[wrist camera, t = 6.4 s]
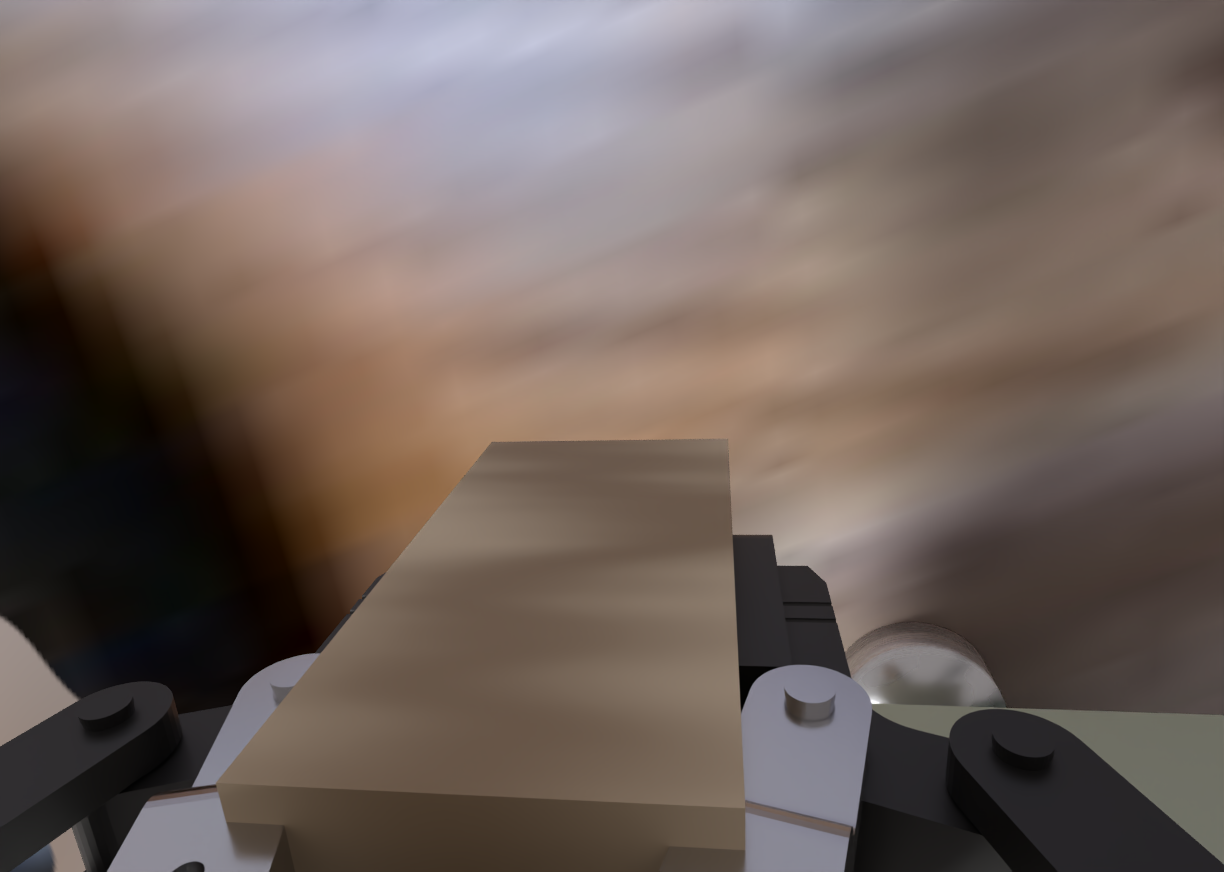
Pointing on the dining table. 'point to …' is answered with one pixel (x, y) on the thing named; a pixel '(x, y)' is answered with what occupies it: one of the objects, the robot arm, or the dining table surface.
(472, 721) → the wooden mallet
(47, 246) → the dining table surface
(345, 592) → the dining table surface
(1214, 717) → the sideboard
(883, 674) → the steel puck
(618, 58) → the dining table surface
